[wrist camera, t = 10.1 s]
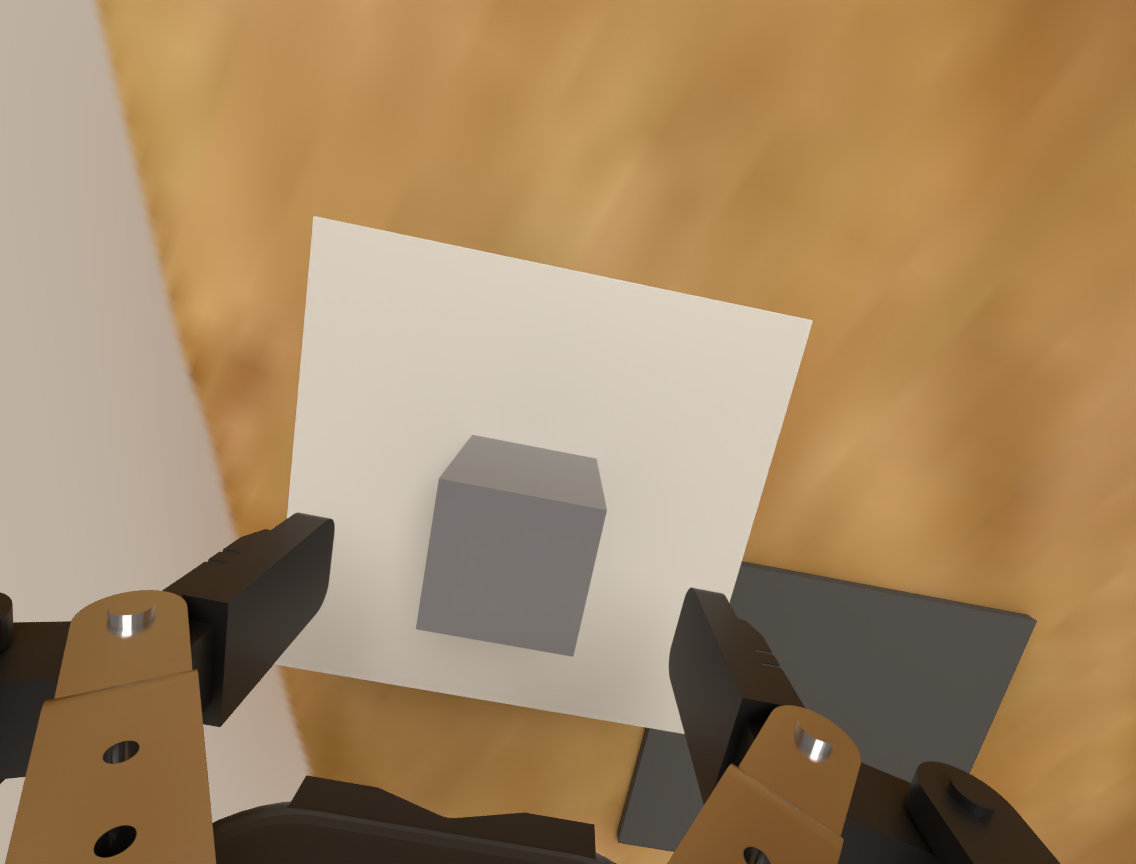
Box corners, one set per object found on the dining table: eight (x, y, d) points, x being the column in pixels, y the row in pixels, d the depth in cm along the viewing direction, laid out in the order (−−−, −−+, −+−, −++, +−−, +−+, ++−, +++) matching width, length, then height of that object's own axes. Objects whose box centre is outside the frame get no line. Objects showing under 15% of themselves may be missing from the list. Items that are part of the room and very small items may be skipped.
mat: (1027, 614, 25) (1037, 621, 24) (911, 880, 28) (917, 890, 28) (694, 552, 24) (697, 557, 23) (617, 833, 27) (618, 842, 27)
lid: (801, 319, 17) (906, 323, 12) (685, 718, 20) (727, 860, 15) (325, 220, 16) (211, 177, 11) (286, 650, 19) (182, 774, 14)
